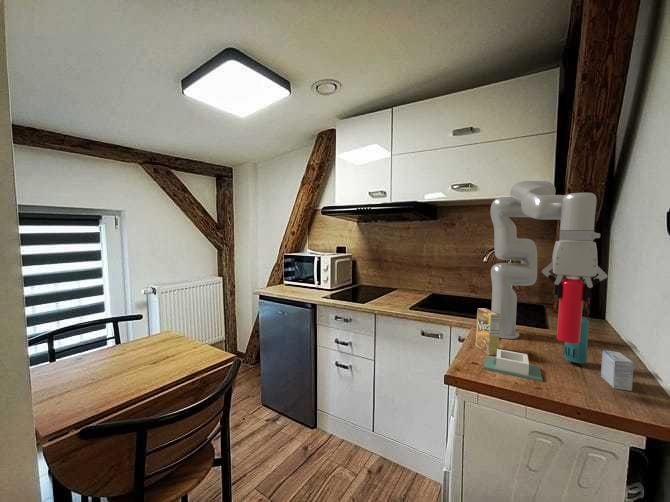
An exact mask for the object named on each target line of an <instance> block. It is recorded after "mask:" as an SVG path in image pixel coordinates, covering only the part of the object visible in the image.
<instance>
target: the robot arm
mask: <svg viewBox="0 0 670 502" xmlns="http://www.w3.org/2000/svg"><path fill="white" fill-rule="evenodd" d="M509 194H510V195H509V196H503V197H498V198H496V199H494V200H493V201H492V202H491V205H490V217H491V218H490V219H491V222H492V224H493V229H494V237H493V238H494V239H493V240H494V243H493V245H494V246H493V247H494V249H493V250H494V255H495V257H496V259H498V260H503V261H504V260H505V261H520V263H517V262H516V263H515V262H512V263H511V262H502V263H501V262H498V263H495V264H494V265H493V266H491V269H490V279H491V288H492V289H491V291H492V292H491V309H490V310H491V311H493V312H496V313H498V314H500V315H501V317H500V333H499V339H500V338H501V339H509V340H515V339H519V337H520V333H519V332H518V331H517V330H516V322H517V305H518V302H517V301H518V297H517V293H516V292H515V290H514V289H513V287H512V286H526V287H527V286H532V285H534V284H535V283H536V281H537V279H538V249H537V245H536V243H535V241H534V240H532V239H530V238H518V236H517V226H516V224H515V222H514V221H513V220H512V219H511V218H532V219H535V220H558V221H559V220H560V225H559V240H556V241H555V243H554V246H553V249H552V250H553V251H552V256H551V262H550V263H548V265H547V266H545V267H544V268H543V269H541V273H542V274H543V275H544V276H545V277H547V278H548V279H549V280H550V281H551V282H552V283H553V286H554V287H553V288H554V289H553V295H554V296H555V297H556V299H558V300H559V299H560V298H561V285H560V283H561V281H562V280H563V277H566V276H575V277H579V278H582V279H583V283H584V296H583V302H588V299H591V293H592V292H591V290H592V288H593V287H594V286H595V285H596V284H598V283H600V282H602V281H604V280H606V279H607V278H608V277H609V276H608V274H607V273H606V272H605V271H603V269H602V268H601V267H600V266H599V265H598V263H599V261H598V248H597V242H595V241H594V240H595V239H600V238H601V233H600V232H599V233H598V232H595V219H596V209H597V196H596V194H594V193H593V192H573V193H572V192H571V193H567V194H563V195H562V194H556V186H555V185H554V183H552V182H551V181H548V180H523V181H519V182H516V183H515V184H514V185H513V186H512V187H511V188H510V192H509ZM550 271H551V272H552V273H553V274H555V276H554V275H552V274H551V273H550Z"/></svg>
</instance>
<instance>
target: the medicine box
mask: <svg viewBox="0 0 670 502" xmlns="http://www.w3.org/2000/svg"><path fill="white" fill-rule="evenodd" d="M600 377H601V378H602V379H603V380H604V381H605V382H606V383H608V385H610V387H612V389H614V390H621V391H628V392H631V391H633V379H634V378H633V377H634V362H633V361H632V360H631V359H630V358H628V357H627V356H625V355H624V354H623V353H621V352H617V351H611V350H602V353H601V368H600Z"/></svg>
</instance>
